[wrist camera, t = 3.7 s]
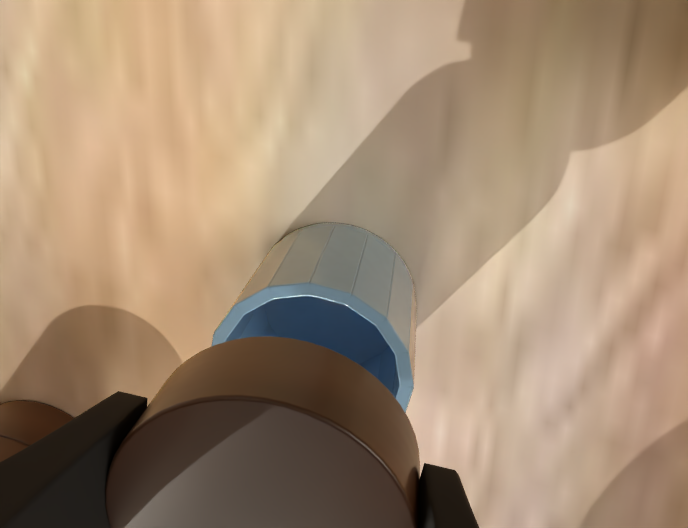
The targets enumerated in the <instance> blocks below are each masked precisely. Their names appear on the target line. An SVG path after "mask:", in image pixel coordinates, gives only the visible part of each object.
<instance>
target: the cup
mask: <svg viewBox="0 0 688 528" xmlns="http://www.w3.org/2000/svg"><path fill="white" fill-rule="evenodd" d="M416 318H417V308H416V296H415V288H414V283H413V280H412V277H411V274H410V272H409V270H408V268H407V266H406V264H405V263H404V261H403V260H402V258H401V257H400V256H399V254H398V253H397V252H396V251H395V250H394V249H393V248H392V247H391V246H390V245H389V244H388V243H386V242H385V241H384V240H383V239H381V238H380V237H378V236H376V235H375V234H373V233H371V232H369V231H367V230H365V229H362V228H359V227H356V226H353V225H348V224H342V223H319V224H314V225H309V226H306V227H303V228H300V229H298V230H296V231H294V232H292V233H290V234H288V235H287V236H285V237H284V238H282V239H281V240H280V241H279V242H278V243H277V244H275V245H274V246H273V247H272V249H271V250H270V251H269V253H268V254H267V255H266V257H265V258H264V260H263V261H262V263H261V264H260V265H259V267H258V268H257V270H256V271H255V273H254V274H253V276H252V277H251V278H250V280H249V281H248V283H247V284H246V286H245V287H244V289H243V290H242V292H241V293H240V295H239V296H238V298H237V299H236V301H235V302H234V304H233V305H232V307H231V308H230V310H229V311H228V313H227V314H226V315H225V317H224V318H223V320H222V321H221V323H220V324H219V326H218V327H217V329H216V330H215V332H214V334H213V340H212V346H214V345H217V344H220V343H224V342H227V341H231V340H234V339H241V338H247V337H262V336H273V337H285V338H292V339H297V340H302V341H307V342H311V343H314V344H317V345H320V346H323V347H326V348H328V349H331V350H333V351H335V352H337V353H339V354H342V355H344V356H346V357H347V358H349V359H351V360H352V361H354V362H356V363H357V364H359V365H361V366H362V367H363V368H365V369H366V370H367V371H368V372H370V373H371V374H372V375H374V376H375V377H376V378H377V379H378V380H379V381H380V382H381V383H382V384H383V385H384V386H385V387H386V388H387V389H388V390H389V391H390V392H391V393H392V395H393V396H394V397H395V399H396V400H397V401H398V402H399V404H400V405H401V407H402V408H403V410H404V412H405V413H406V410H407V407H408V404H409V401H410V398H411V395H412V392H413V389H414V370H415V344H416ZM212 346H211V347H212Z"/></svg>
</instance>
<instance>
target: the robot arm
mask: <svg viewBox="0 0 688 528" xmlns="http://www.w3.org/2000/svg"><path fill="white" fill-rule="evenodd" d="M146 408H147V398H145V397H141V396H136V395H132V394H128V393H124V392H119V391H118V392H116V393H115V394H113V395H111V396H110V397H108V398H106V399H105V400H103V401H101V402H100V403H98V404H97V405H95V406H93V407H92V408H90V409H89V410H87V411H85V412H84V413H82V414H81V415H79V416H77V417H76V418H74V419H73V420H71V421H69V422H68V423H66V424H65V425H63V426H61V427H60V428H58V429H57V430H55V431H53V432H52V433H50V434H48V435H46V436H45V437H43V438H41V439H40V440H38V441H36V442H35V443H33V444H31V445H30V446H28V447H26V448H25V449H23V450H21V451H20V452H18V453H16V454H14V455H13V456H11V457H9V458H7V459H5V460H3V461H2V462H0V528H111V527H110V524H109V521H108V517H107V511H106V505H105V488H106V481H107V475H108V470H109V468H110V465H111V462H112V459H113V457H114V455H115V453H116V451H117V450H118V448H119V446H120V444H121V443H122V441H123V440H124V439H125V437H126V436H127V434H128V433H129V432H130V430H131V429H132V428H133V426H134V425H135V423H136V422H137V421H138V419H139V418H140V416H141V415H142V414H143V412H144V411H145V410H146ZM419 528H479V526H478V524H477V521H476V519H475V516H474V514H473V512H472V509H471V507H470V504H469V502H468V499H467V496H466V494H465V491H464V488H463V486H462V483H461V480H460V477H459V475H458V474H457V472H456V471H455V470H452V469H447V468H443V467H439V466H435V465H430V464H426V463H424V466H423V470H422V473H421V476H420V488H419Z"/></svg>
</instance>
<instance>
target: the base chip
mask: <svg viewBox="0 0 688 528" xmlns="http://www.w3.org/2000/svg"><path fill="white" fill-rule="evenodd" d="M73 419H74V418H73V417H72V416H70V415H68V414H67V413H65V412H63V411H61V410H59V409H57V408H54V407H52V406H49V405H46V404H42V403H38V402H32V401H12V402H7V403H3V404H0V437H4V438H9V439H12V440H15V441H18V442H20V443H23V444H25V445H27V446H30V445H31V444H33V443H35V442H36V441H38V440H40V439H41V438H43V437H45V436H46V435H48V434H50V433H52V432H53V431H55V430H57V429H58V428H60V427H61V426H63V425H65V424H66V423H68V422H69V421H71V420H73Z"/></svg>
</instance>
